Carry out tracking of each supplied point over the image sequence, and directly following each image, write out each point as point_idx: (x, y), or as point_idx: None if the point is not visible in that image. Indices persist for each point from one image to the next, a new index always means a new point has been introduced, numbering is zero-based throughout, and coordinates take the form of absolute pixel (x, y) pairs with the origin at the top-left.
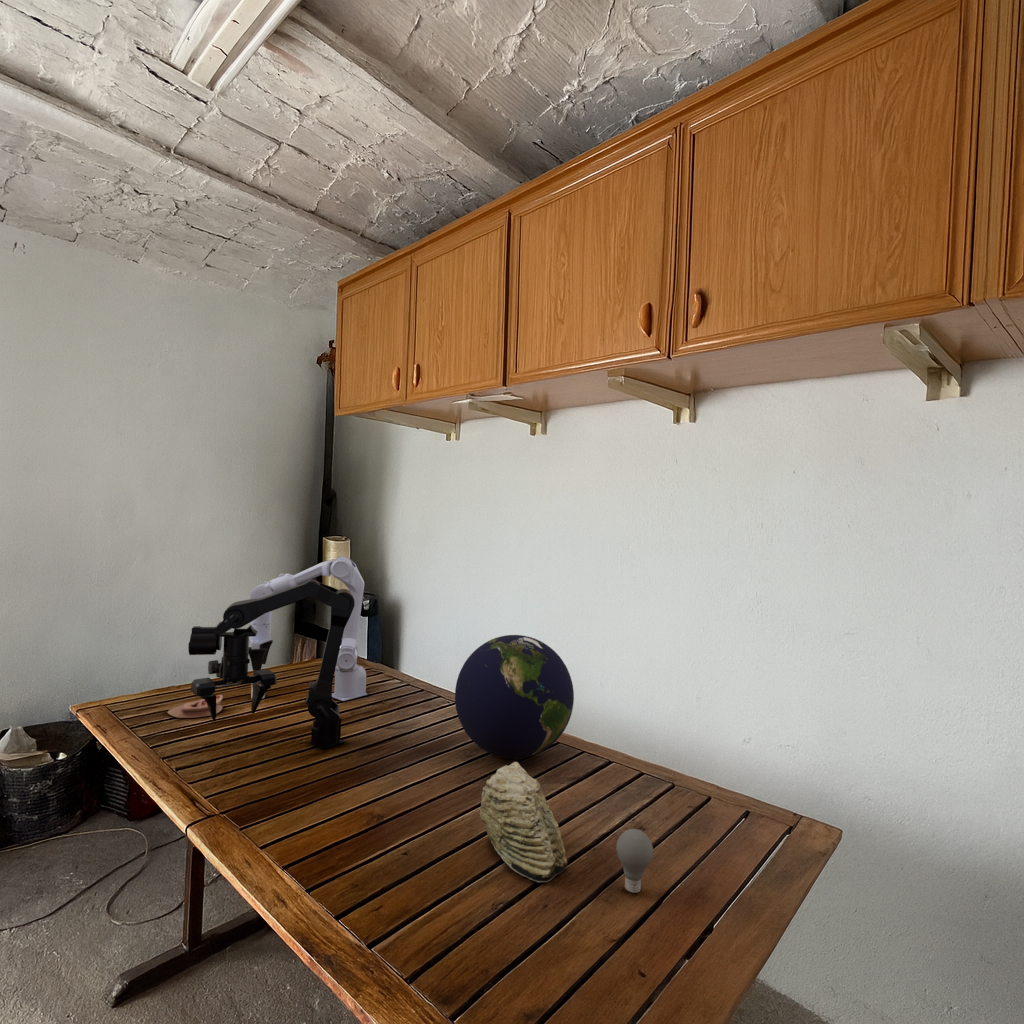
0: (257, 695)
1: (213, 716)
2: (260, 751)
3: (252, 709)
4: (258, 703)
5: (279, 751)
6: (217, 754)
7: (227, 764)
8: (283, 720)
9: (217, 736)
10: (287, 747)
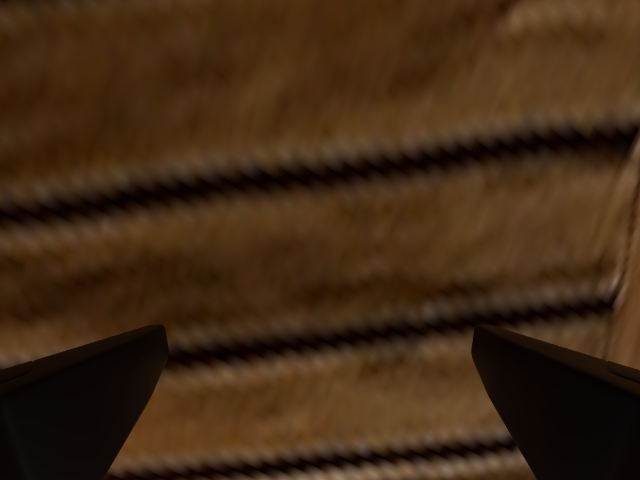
0: (7, 415)
1: (521, 336)
2: (205, 129)
3: (152, 356)
4: (66, 353)
5: (108, 64)
6: (403, 216)
7: (412, 47)
8: None
9: (329, 415)
10: (54, 98)
